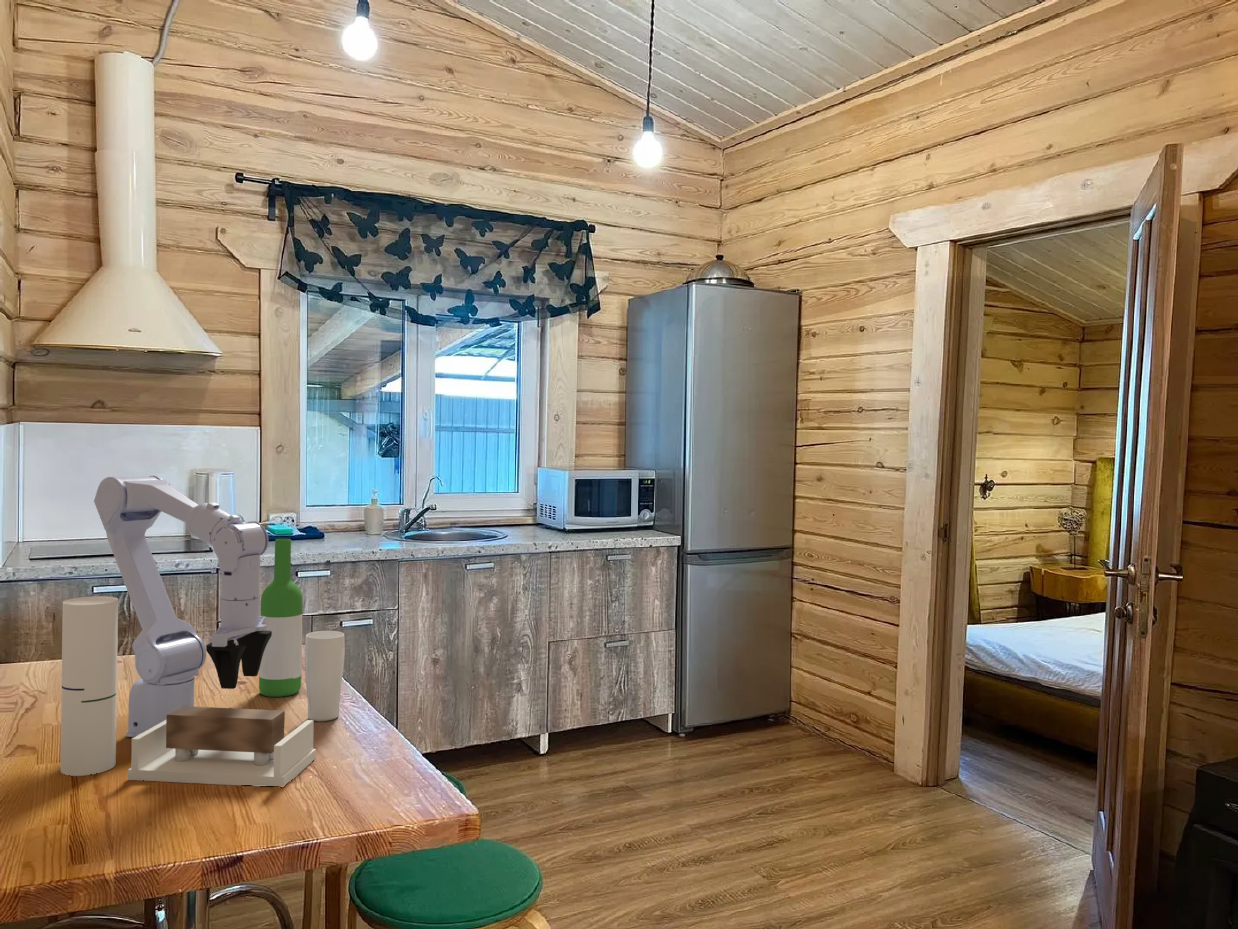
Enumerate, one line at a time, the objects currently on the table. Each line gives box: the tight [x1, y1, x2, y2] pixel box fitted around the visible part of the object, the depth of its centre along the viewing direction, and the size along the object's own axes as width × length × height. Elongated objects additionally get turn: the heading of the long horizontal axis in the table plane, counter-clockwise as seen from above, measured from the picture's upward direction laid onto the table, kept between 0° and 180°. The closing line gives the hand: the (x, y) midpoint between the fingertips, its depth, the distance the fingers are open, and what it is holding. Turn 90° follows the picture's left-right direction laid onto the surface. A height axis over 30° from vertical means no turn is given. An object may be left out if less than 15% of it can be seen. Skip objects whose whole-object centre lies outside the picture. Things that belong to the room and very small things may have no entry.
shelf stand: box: [127, 719, 317, 786], centre depth 137 cm, size 23×12×6 cm, turn 87°
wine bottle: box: [258, 538, 304, 698], centre depth 177 cm, size 8×8×30 cm
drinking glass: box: [304, 630, 346, 722], centre depth 162 cm, size 7×7×15 cm
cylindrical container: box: [60, 595, 119, 777], centre depth 135 cm, size 7×7×25 cm
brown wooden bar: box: [166, 706, 286, 753], centre depth 137 cm, size 16×4×5 cm, turn 87°
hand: (239, 681), depth 147 cm, fingers open, 7 cm apart
